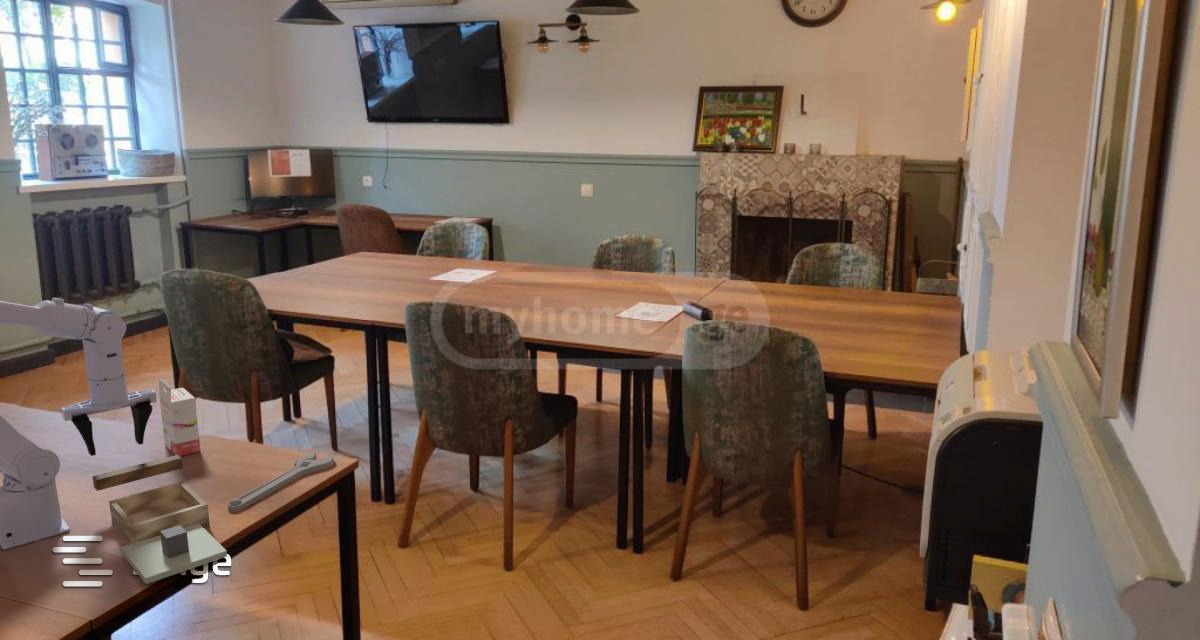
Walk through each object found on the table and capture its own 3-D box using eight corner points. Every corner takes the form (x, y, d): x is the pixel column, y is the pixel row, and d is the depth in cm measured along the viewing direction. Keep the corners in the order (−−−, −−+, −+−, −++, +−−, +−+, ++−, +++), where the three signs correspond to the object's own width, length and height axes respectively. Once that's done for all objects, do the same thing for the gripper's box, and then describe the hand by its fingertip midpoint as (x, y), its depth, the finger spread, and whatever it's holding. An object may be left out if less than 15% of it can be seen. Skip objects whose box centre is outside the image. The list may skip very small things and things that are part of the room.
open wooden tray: (133, 549, 140) (130, 527, 139) (111, 522, 148) (108, 501, 147) (209, 525, 148) (207, 504, 147) (185, 501, 156) (182, 481, 155)
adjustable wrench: (236, 516, 153) (235, 506, 152) (211, 507, 156) (210, 498, 155) (339, 464, 174) (339, 455, 173) (316, 457, 177) (315, 449, 176)
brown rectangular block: (97, 490, 148) (95, 480, 148) (93, 487, 149) (92, 476, 149) (182, 468, 157) (181, 458, 157) (179, 464, 159) (177, 454, 158)
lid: (146, 590, 129) (142, 557, 128) (122, 558, 138) (118, 527, 136) (227, 562, 138) (224, 530, 136) (200, 533, 146) (196, 504, 144)
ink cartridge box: (202, 451, 178) (195, 383, 174) (176, 457, 174) (168, 388, 171) (189, 438, 184) (181, 373, 180) (163, 444, 181) (156, 377, 177)
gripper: (64, 390, 143) (75, 466, 147) (158, 372, 153) (166, 444, 156) (54, 379, 148) (65, 453, 152) (146, 363, 158) (154, 432, 161)
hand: (116, 448), depth 154 cm, fingers open, 7 cm apart
